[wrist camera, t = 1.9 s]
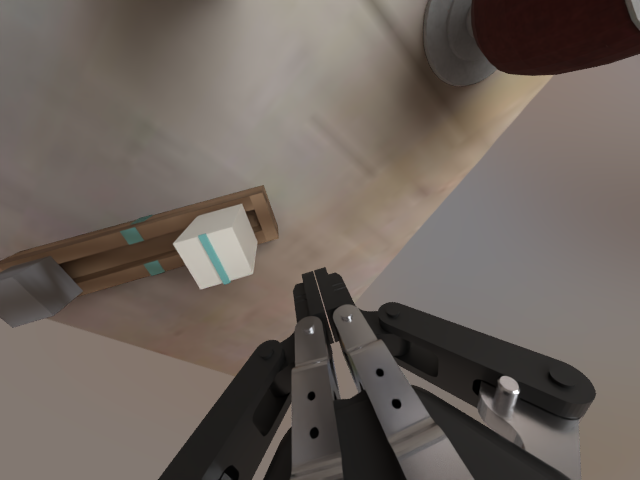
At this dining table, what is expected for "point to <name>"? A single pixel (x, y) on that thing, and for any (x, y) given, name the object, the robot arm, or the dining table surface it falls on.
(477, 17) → the mate gourd
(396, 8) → the dining table surface
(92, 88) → the dining table surface
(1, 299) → the beam
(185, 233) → the block
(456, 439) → the robot arm
